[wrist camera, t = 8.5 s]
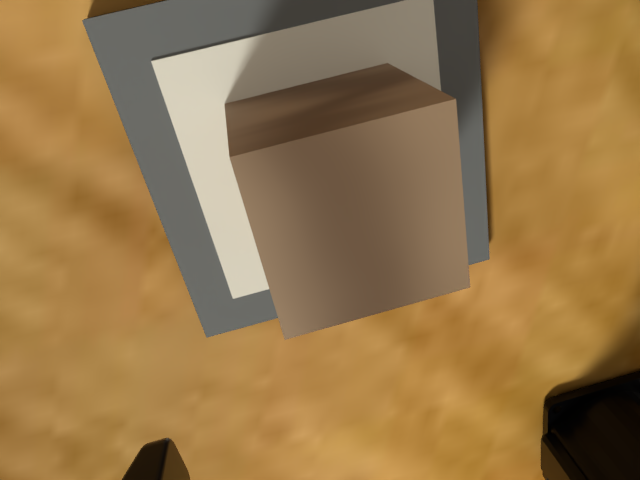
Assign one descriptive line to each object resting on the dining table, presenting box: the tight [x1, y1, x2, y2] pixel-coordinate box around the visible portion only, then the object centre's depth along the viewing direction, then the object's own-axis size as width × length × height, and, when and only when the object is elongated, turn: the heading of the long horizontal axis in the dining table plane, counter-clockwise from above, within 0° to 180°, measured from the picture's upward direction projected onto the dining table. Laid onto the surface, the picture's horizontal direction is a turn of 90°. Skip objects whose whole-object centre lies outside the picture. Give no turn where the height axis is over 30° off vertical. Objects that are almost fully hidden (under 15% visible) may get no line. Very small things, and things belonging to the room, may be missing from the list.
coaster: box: [82, 0, 489, 337], centre depth 19 cm, size 12×12×1 cm
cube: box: [224, 63, 470, 340], centre depth 16 cm, size 6×6×6 cm
